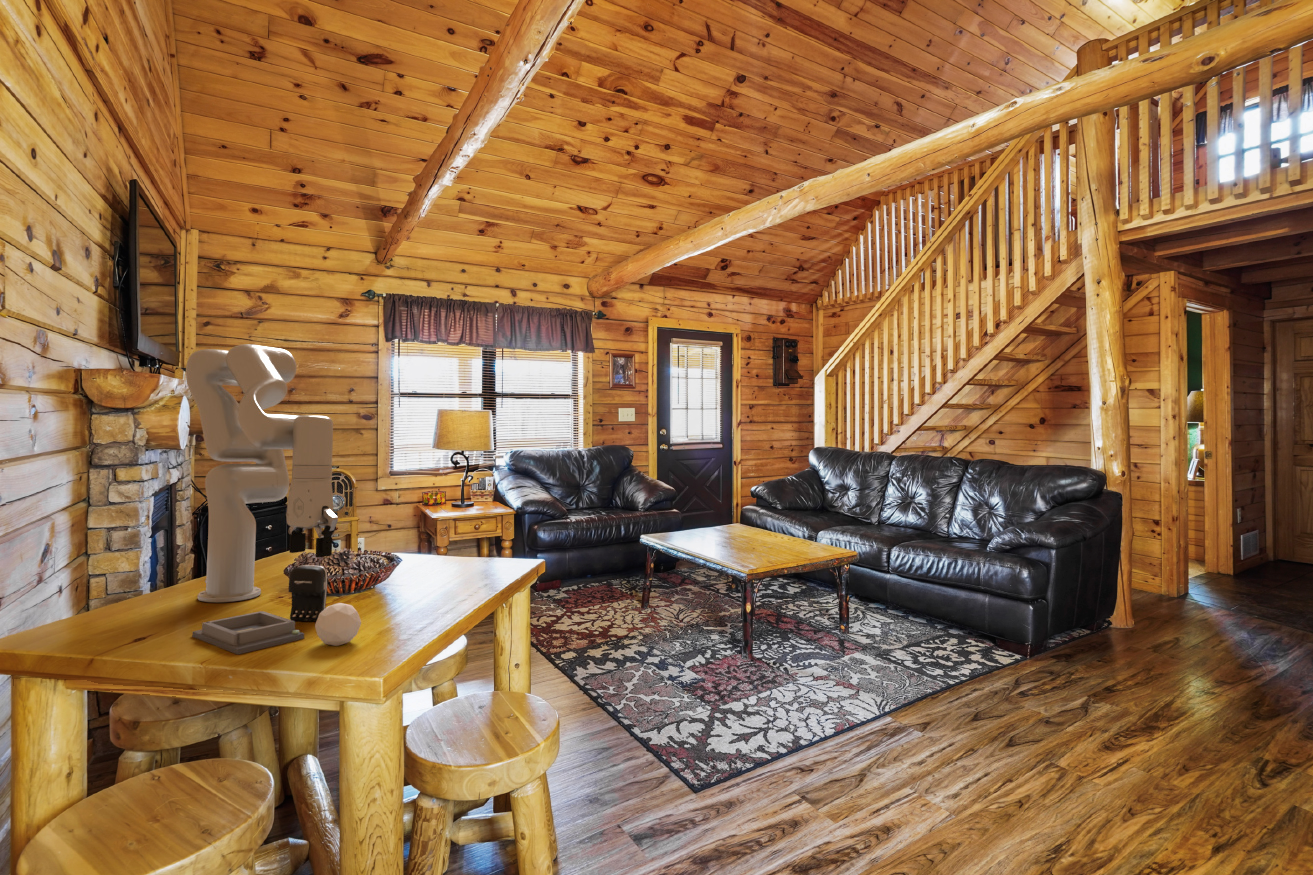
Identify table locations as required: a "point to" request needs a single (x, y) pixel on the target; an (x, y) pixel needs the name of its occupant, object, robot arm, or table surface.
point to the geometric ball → (338, 624)
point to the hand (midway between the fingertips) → (310, 554)
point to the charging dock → (248, 632)
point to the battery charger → (307, 592)
